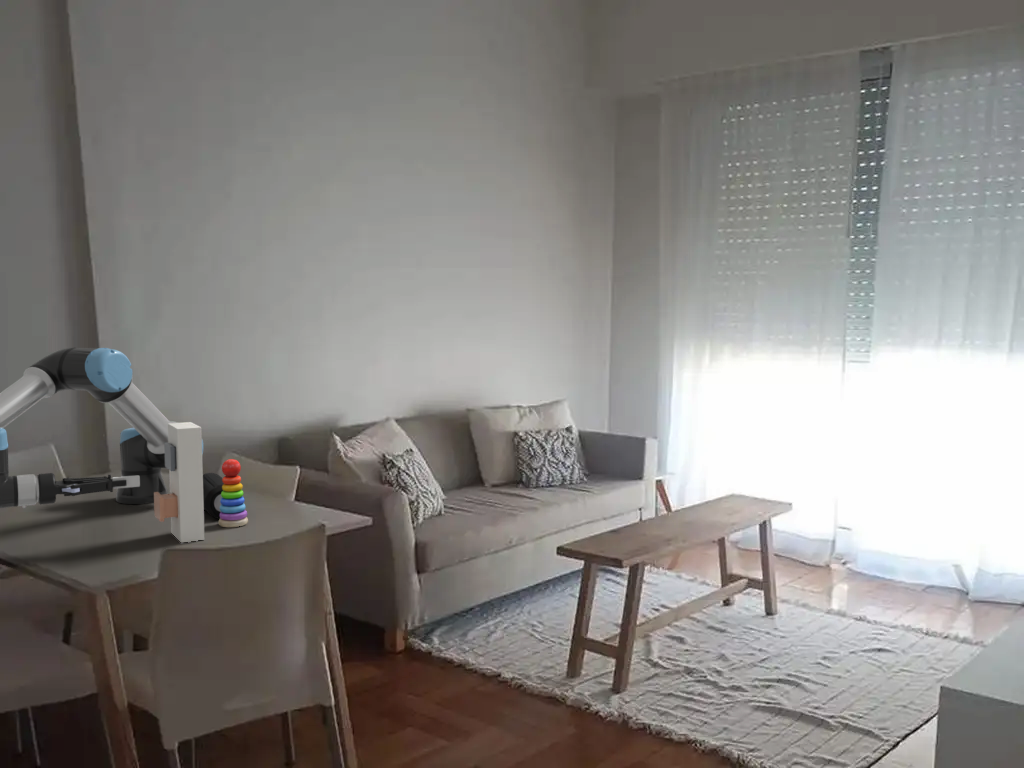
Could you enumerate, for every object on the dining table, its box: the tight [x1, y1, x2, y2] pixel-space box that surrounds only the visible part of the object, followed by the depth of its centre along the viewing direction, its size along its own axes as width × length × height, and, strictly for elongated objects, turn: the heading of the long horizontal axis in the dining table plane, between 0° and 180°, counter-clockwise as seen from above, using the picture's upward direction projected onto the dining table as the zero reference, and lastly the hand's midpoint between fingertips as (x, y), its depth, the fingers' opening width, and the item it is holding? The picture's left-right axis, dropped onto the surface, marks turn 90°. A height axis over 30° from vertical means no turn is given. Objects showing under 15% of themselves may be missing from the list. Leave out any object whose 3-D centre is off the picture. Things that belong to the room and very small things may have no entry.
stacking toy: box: [218, 458, 249, 528], centre depth 259 cm, size 8×8×19 cm
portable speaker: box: [203, 472, 224, 519], centre depth 276 cm, size 26×10×10 cm, turn 29°
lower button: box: [153, 492, 178, 523], centre depth 244 cm, size 8×7×6 cm
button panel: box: [168, 421, 205, 543], centre depth 245 cm, size 12×6×30 cm, turn 32°
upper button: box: [164, 443, 177, 471], centre depth 244 cm, size 8×7×6 cm
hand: (139, 480), depth 239 cm, fingers closed
